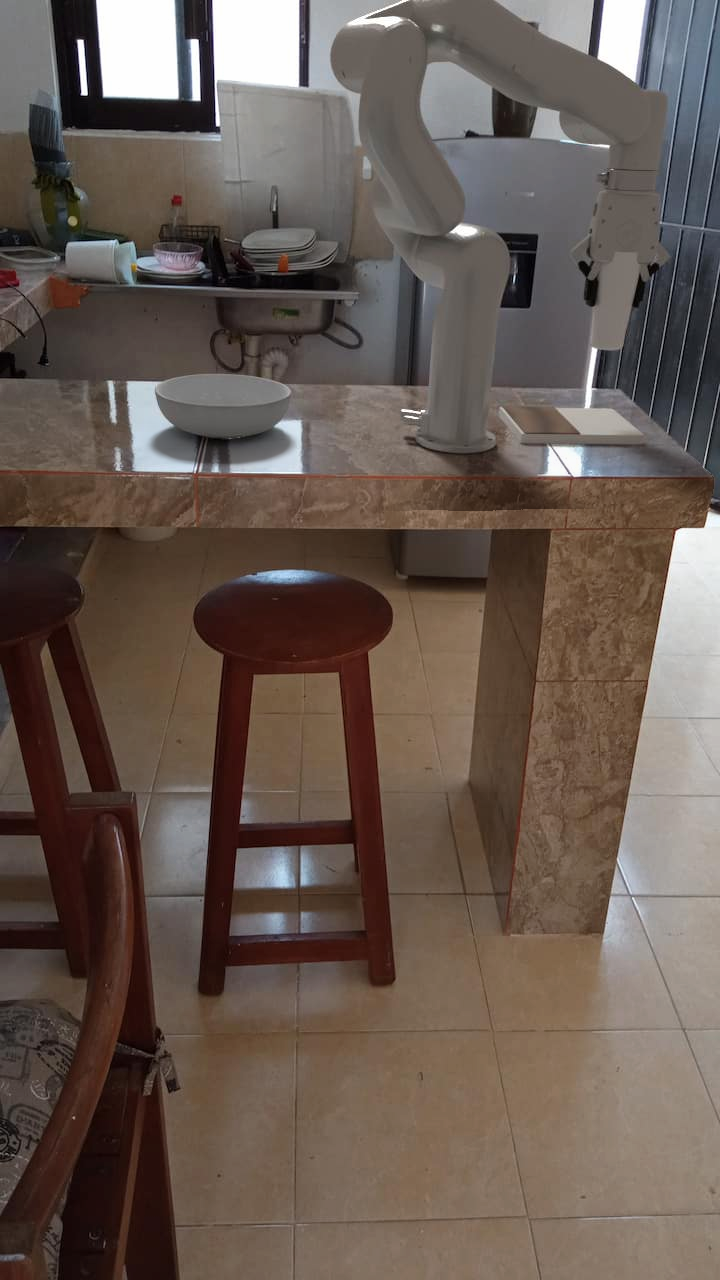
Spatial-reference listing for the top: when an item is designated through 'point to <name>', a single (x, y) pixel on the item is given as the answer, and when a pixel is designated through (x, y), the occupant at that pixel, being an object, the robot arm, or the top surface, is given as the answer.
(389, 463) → the top surface
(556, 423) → the brown rectangular panel
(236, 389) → the serving bowl
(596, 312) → the drinking glass
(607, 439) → the board
